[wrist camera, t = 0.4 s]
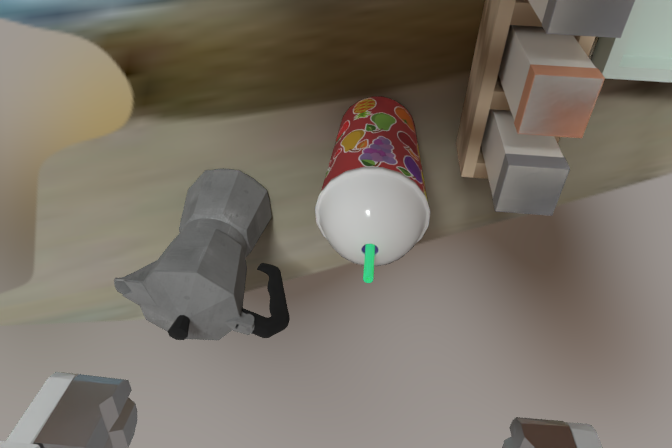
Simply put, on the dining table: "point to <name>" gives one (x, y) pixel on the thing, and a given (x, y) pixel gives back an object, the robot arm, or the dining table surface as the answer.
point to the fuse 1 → (522, 167)
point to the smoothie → (374, 186)
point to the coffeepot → (210, 264)
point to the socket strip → (491, 78)
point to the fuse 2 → (583, 16)
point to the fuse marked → (548, 82)
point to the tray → (639, 45)
